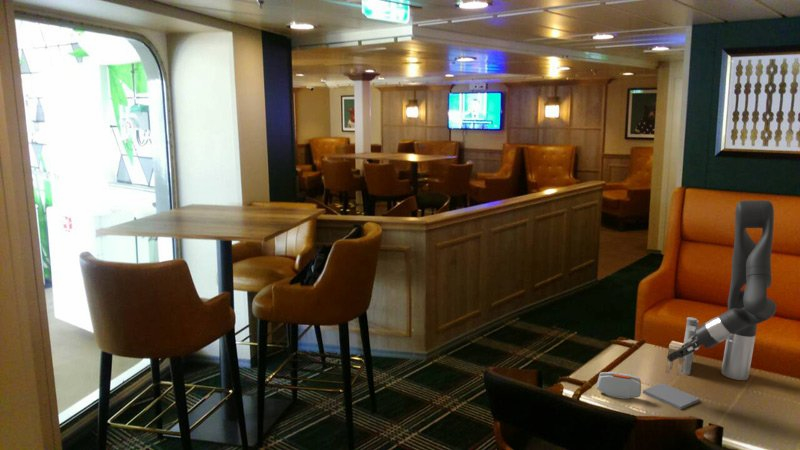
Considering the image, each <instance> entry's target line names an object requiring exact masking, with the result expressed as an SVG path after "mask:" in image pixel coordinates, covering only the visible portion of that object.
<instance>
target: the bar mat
mask: <svg viewBox="0 0 800 450" xmlns="http://www.w3.org/2000/svg"><path fill="white" fill-rule="evenodd" d="M642 393H643V394H644V395H647V396H649V397H651V398H653V399H655V400H658V401H660V402H662V403H665V404H667V405H669V406H671V407H673V408H676V409H678V410H683V409H686V408H688V407H690V406H692V405H694V404H697V403H699V402H700V401H701V398H699V397H696V396H695V395H692V394H690V393H687V392H686V391H682V390H681V389H678V388H676V387H674V386H670V385H668V384H666V383H663V382H662V383H659V384H655V385H653V386H651V387H648V388H645V389H643V390H642Z"/></svg>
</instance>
